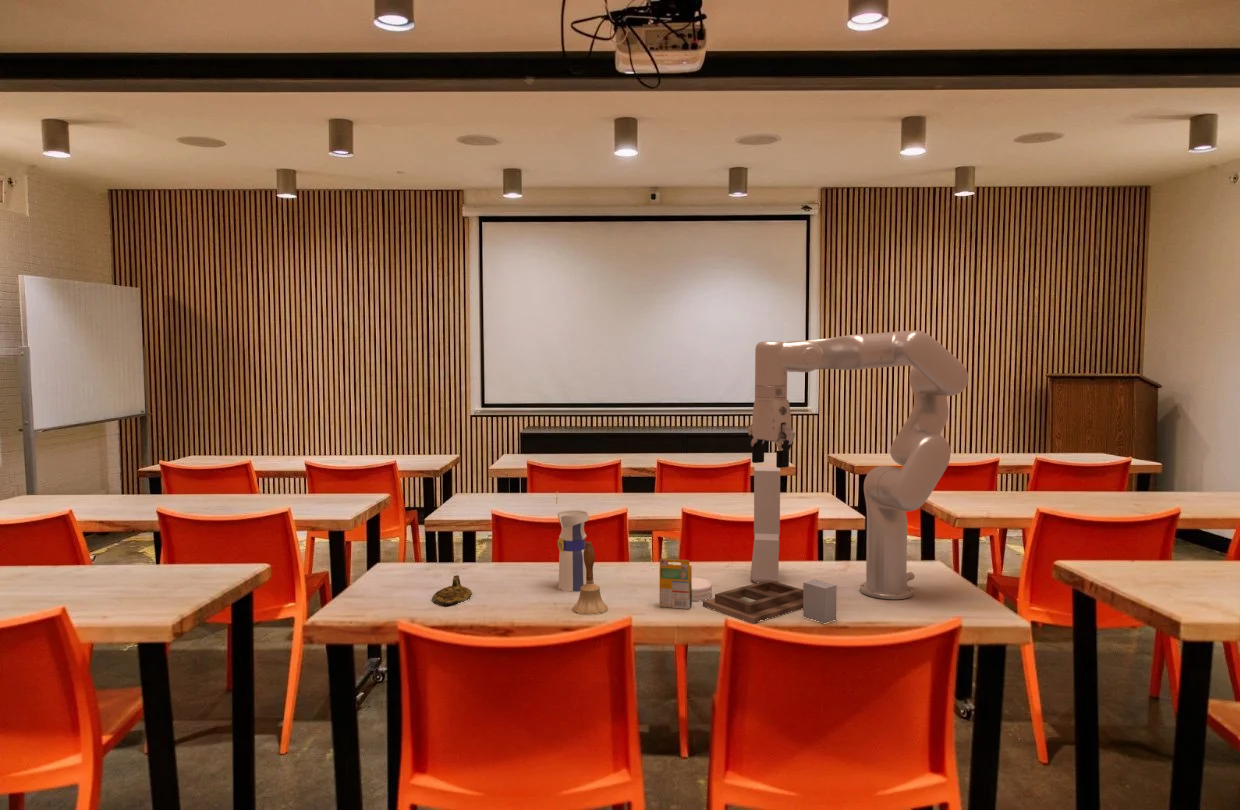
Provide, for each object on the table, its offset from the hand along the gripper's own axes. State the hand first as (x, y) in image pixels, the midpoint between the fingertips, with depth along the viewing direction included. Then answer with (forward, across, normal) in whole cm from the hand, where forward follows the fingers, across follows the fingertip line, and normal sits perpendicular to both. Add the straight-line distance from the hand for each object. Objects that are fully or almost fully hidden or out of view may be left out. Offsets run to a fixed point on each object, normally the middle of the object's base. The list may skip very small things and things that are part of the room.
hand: (770, 464), depth 187 cm
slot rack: (+33, -2, +4) cm, 33 cm away
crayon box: (+33, +6, +22) cm, 40 cm away
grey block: (+33, -16, -2) cm, 37 cm away
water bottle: (+34, +31, +38) cm, 60 cm away
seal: (+34, +37, +68) cm, 84 cm away
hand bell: (+34, +13, +41) cm, 55 cm away
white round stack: (+34, +12, +14) cm, 38 cm away
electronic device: (+33, +17, -11) cm, 39 cm away
